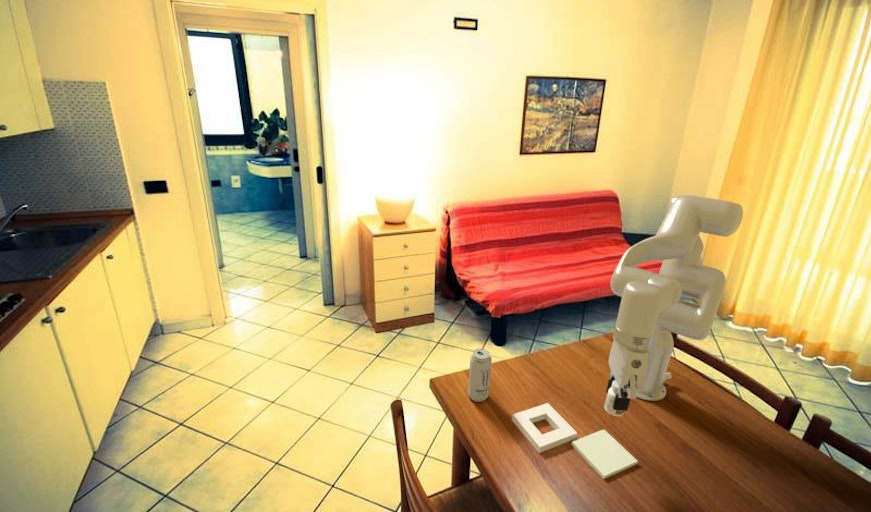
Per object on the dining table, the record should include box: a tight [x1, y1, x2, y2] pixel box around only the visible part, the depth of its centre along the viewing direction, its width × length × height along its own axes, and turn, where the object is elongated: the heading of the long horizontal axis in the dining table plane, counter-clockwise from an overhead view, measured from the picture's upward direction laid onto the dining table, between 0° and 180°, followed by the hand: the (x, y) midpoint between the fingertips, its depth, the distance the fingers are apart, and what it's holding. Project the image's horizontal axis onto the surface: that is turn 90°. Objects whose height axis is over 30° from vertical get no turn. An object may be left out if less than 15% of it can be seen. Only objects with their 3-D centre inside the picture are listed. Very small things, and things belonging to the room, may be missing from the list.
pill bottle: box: [604, 380, 628, 417], centre depth 96 cm, size 4×4×8 cm
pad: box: [571, 429, 638, 480], centre depth 102 cm, size 11×11×1 cm
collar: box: [511, 402, 578, 454], centre depth 109 cm, size 12×12×2 cm
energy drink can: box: [467, 348, 492, 403], centre depth 118 cm, size 6×6×15 cm
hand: (616, 400), depth 96 cm, fingers closed on pill bottle, 4 cm apart
